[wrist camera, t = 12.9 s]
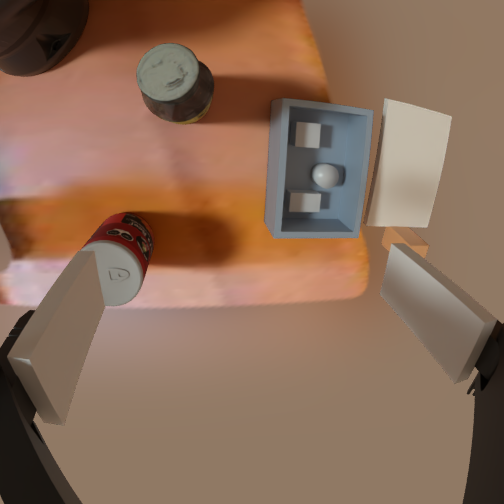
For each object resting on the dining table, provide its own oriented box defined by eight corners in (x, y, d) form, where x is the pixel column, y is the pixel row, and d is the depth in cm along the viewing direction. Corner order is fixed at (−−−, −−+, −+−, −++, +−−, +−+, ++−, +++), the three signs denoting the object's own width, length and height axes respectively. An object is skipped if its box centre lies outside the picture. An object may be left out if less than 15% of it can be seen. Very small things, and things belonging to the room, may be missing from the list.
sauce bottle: (210, 124, 37) (216, 129, 19) (159, 124, 36) (118, 132, 18) (212, 72, 34) (221, 30, 16) (161, 73, 33) (122, 34, 15)
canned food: (164, 252, 43) (154, 294, 33) (114, 271, 43) (93, 315, 33) (141, 201, 39) (122, 230, 29) (90, 223, 39) (60, 257, 29)
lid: (380, 97, 37) (414, 104, 30) (443, 114, 39) (479, 124, 32) (355, 240, 47) (379, 268, 40) (414, 240, 49) (441, 265, 42)
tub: (271, 100, 37) (282, 98, 31) (351, 109, 38) (373, 110, 33) (264, 222, 43) (273, 238, 38) (340, 222, 45) (358, 238, 39)
